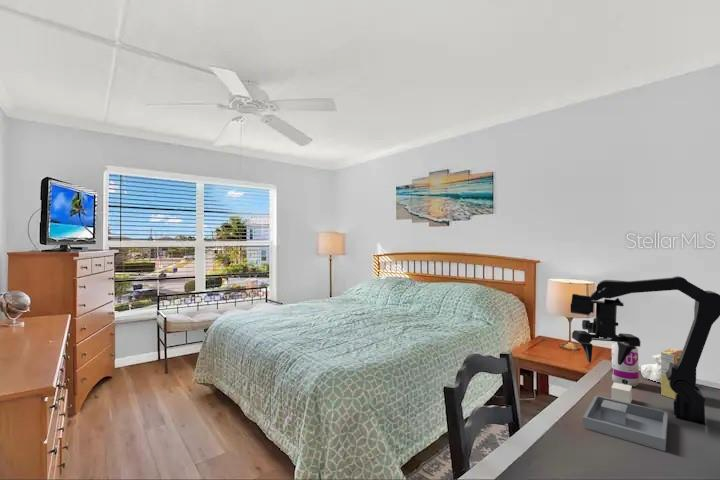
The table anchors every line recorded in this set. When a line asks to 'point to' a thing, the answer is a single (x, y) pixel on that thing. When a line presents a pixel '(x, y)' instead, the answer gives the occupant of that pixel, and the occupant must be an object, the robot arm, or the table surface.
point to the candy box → (667, 358)
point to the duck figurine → (652, 369)
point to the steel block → (614, 412)
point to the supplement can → (625, 367)
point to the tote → (630, 424)
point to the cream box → (621, 392)
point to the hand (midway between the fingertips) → (604, 363)
